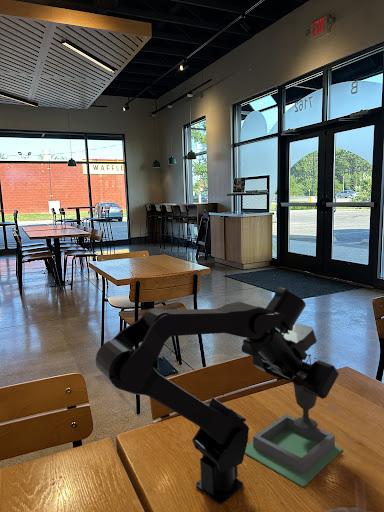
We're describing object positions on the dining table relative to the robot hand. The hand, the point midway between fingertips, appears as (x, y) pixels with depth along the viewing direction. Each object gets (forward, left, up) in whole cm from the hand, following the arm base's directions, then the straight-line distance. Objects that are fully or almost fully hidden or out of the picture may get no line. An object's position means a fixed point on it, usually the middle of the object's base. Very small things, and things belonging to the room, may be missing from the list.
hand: (310, 386), depth 82 cm
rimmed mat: (-6, +1, -12) cm, 13 cm away
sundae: (-2, 0, -8) cm, 8 cm away
